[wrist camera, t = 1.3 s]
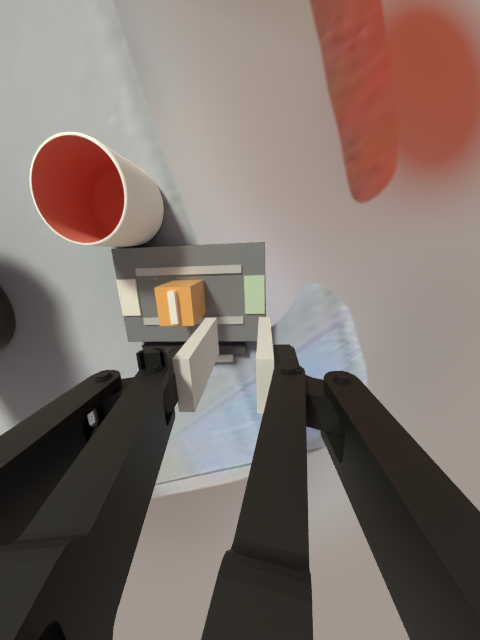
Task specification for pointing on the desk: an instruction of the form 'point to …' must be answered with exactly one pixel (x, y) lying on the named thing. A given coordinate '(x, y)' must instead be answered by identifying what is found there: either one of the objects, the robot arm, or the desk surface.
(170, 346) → the black bar
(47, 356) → the desk surface
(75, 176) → the cup
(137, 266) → the box
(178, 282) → the breaker toggle
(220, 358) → the cord grey
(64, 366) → the desk surface
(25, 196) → the desk surface
